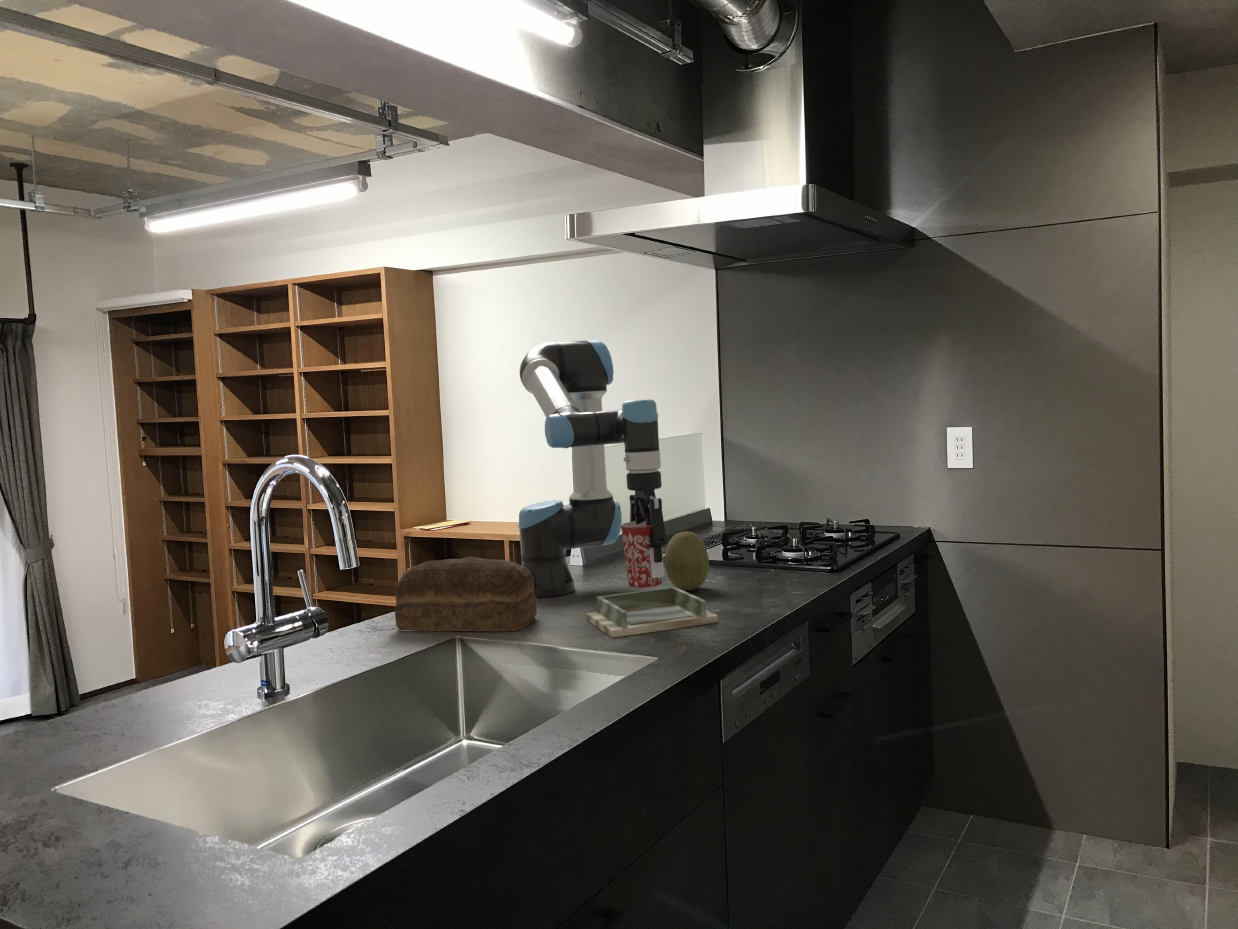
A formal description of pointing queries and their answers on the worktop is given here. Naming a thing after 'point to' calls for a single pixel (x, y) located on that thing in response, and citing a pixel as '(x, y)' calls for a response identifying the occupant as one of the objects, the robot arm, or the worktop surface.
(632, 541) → the mug
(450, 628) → the bread
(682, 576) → the fruit
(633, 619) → the tray
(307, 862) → the worktop surface
